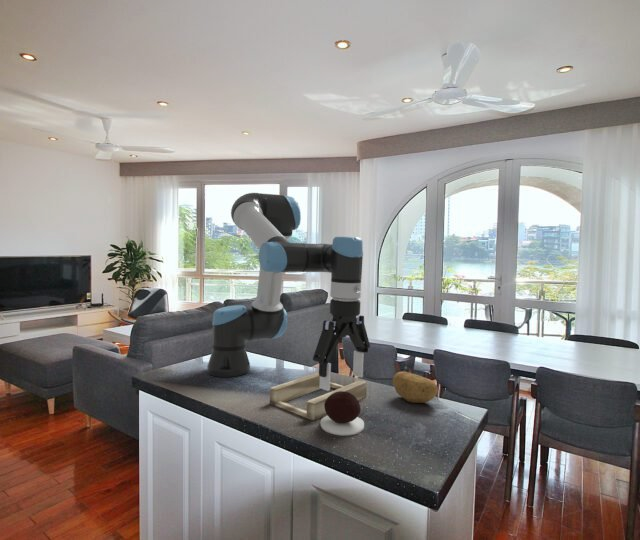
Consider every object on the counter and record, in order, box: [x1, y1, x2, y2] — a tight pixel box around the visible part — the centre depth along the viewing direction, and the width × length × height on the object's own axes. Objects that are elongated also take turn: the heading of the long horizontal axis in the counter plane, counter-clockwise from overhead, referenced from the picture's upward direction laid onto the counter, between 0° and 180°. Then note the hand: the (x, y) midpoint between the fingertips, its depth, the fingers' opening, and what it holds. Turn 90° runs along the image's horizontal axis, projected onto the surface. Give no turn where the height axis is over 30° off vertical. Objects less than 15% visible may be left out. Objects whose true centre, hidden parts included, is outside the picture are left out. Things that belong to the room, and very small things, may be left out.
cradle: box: [269, 371, 368, 422], centre depth 115 cm, size 17×24×4 cm
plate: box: [320, 415, 365, 437], centre depth 98 cm, size 11×11×1 cm
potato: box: [392, 371, 439, 404], centre depth 116 cm, size 10×14×8 cm
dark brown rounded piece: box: [324, 391, 362, 423], centre depth 98 cm, size 8×9×8 cm
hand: (342, 382), depth 98 cm, fingers open, 13 cm apart
